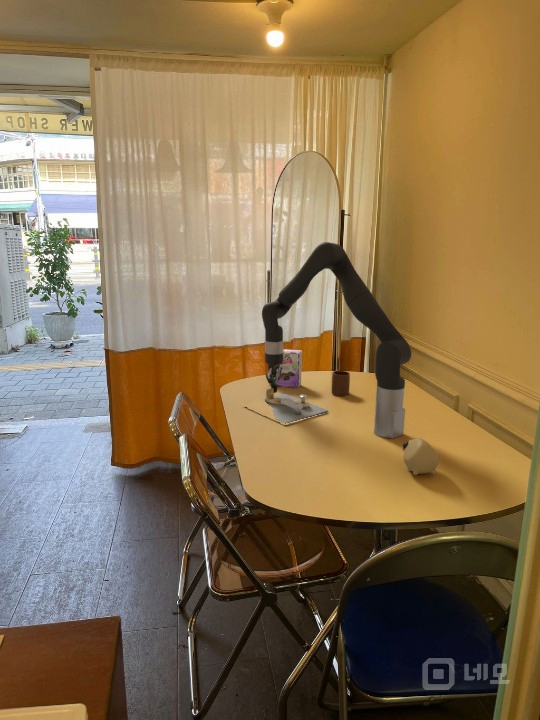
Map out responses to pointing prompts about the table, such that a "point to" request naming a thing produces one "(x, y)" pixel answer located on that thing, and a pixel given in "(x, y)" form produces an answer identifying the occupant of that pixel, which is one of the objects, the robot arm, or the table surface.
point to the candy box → (291, 369)
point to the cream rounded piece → (420, 456)
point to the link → (273, 400)
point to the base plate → (293, 410)
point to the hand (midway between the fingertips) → (274, 392)
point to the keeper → (295, 404)
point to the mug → (340, 383)
